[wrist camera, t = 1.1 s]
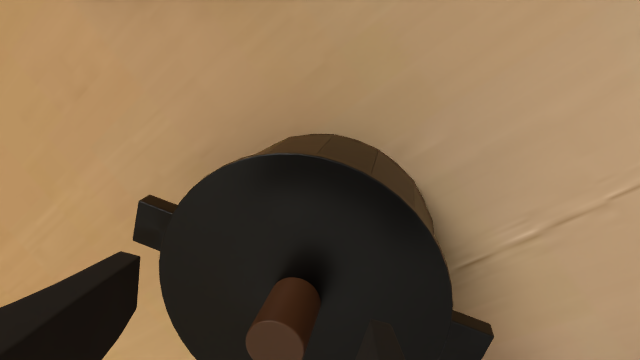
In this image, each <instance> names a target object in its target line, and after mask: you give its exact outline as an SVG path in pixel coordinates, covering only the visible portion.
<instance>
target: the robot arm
mask: <svg viewBox="0 0 640 360" xmlns="http://www.w3.org/2000/svg"><path fill="white" fill-rule="evenodd" d="M139 267H140V256H137V255H133V254H129V253H125V252H122V251H121V252H118V253H116V254H114V255H112V256H110V257H108V258H106V259H104V260H102V261H100V262H98V263H96V264H94V265H92V266H90V267H88V268H86V269H84V270H83V271H81V272H78V273H76V274H74V275H72V276H70V277H68V278H66V279H64V280H62V281H60V282H58V283H56V284H54V285H52V286H49V287H47V288H45V289H43V290H40V291H38V292H36V293H34V294H31V295H29V296H27V297H25V298H22V299H20V300H18V301H16V302H13V303H11V304H8V305H6V306H3V307H1V308H0V360H102V359H103V357H104V356H105V355H106V354H107V352H108V351H109V350H110V348H111V347H112V346H113V345H114V343H115V342H116V341H117V339H118V338H119V336H120V335H121V333H122V332H123V330H124V328H125V327H126V325H127V324H128V322H129V320H130V318H131V317H132V315H133V313H134V312H135V310H136V308H137V295H138V281H139ZM355 360H405V358H404V355H403V353H402V350H401V348H400V346H399V343H398V341H397V338H396V335H395V333H394V330H393V328H392V326H391V324H389V323H385V322H381V321H377V320H374V319H370V322H369V324H368V327H367V330H366V332H365V335H364V338H363V340H362V343H361V346H360V348H359V351H358V354H357V356H356V359H355Z"/></svg>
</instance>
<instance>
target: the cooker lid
mask: <svg viewBox="0 0 640 360" xmlns="http://www.w3.org/2000/svg"><path fill="white" fill-rule="evenodd" d="M159 275H160V284H161V290H162V296H163V299H164V303H165V306H166V309H167V312H168V314H169V317H170V319H171V322H172V324H173V326H174V328H175V330H176V331H177V333H178V335H179V337H180V338H181V340H182V342H183V343H184V344H185V346H186V347H187V348H188V350H189V351H190V353H191V354H192V355H193V356H194V357H195V359H196V360H355V359H356V356H357V354H358V351H359V348H360V346H361V343H362V340H363V338H364V335H365V332H366V330H367V327H368V324H369V322H370V319H374V320H377V321H381V322H385V323H389V324H391V326H392V328H393V330H394V333H395V335H396V338H397V341H398V343H399V346H400V348H401V350H402V353H403V355H404V358H405V360H438V359H439V357H440V356H441V354H442V351H443V349H444V346H445V344H446V342H447V339H448V335H449V331H450V326H451V322H452V309H453V300H452V287H451V281H450V277H449V272H448V268H447V264H446V261H445V258H444V256H443V253H442V251H441V248H440V246H439V243H438V241H437V240H436V238H435V236H434V234H433V233H432V231H431V229H430V227H429V226H428V224H427V223H426V222H425V220H424V219H423V218H422V217H421V215H420V214H419V213H418V211H417V210H416V209H415V208H414V207H413V206H412V205H411V204H410V203H409V202H408V201H407V200H406V199H405V198H404V197H403V196H402V195H401V194H400V193H399V192H398V191H396V190H395V189H394V188H392V187H391V186H390V185H388V184H387V183H386V182H385V181H383V180H382V179H380V178H378V177H377V176H375V175H373V174H371V173H370V172H368V171H366V170H365V169H363V168H360V167H358V166H355V165H353V164H351V163H348V162H346V161H344V160H340V159H337V158H333V157H330V156H326V155H323V154H317V153H310V152H303V151H274V152H266V153H259V154H255V155H251V156H247V157H244V158H241V159H238V160H236V161H233V162H231V163H229V164H226V165H224V166H222V167H221V168H219V169H217V170H216V171H214V172H213V173H211V174H209V175H208V176H206V177H205V178H203V179H202V180H201V181H200V182H199V183H198V184H196V185H195V186H194V187H193V188H192V189H191V190H190V191H189V192H188V193H187V194H186V196H185V197H184V198H183V199H182V200H181V201H180V203H179V205H178V206H177V208H176V209H175V211H174V212H173V214H172V216H171V218H170V220H169V223H168V225H167V227H166V230H165V233H164V237H163V241H162V244H161V251H160V260H159Z"/></svg>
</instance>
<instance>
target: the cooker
mask: <svg viewBox="0 0 640 360" xmlns="http://www.w3.org/2000/svg"><path fill="white" fill-rule="evenodd" d="M274 151H303V152H310V153H317V154H323V155H326V156H330V157H333V158H337V159H340V160H344V161H346V162H348V163H351V164H353V165H355V166H358V167H360V168H363V169H365V170H366V171H368V172H370V173H371V174H373V175H375V176H377V177H378V178H380V179H382V180H383V181H385V182H386V183H387V184H388V185H390V186H391V187H392V188H394V189H395V190H396V191H398V192H399V193H400V194H401V195H402V196H403V197H404V198H405V199H406V200H407V201H408V202H409V203H410V204H411V205H412V206H413V207H414V208H415V209H416V210H417V211H418V213H419V214H420V215H421V217H422V218H423V219H424V220H425V222H426V223H427V224H428V226H429V227H430V229H431V231H432V233H433V234H434V229H433V222H432V218H431V216H430V214H429V212H428V210H427V207H426V205H425V202H424V200H423V197H422V196H421V194H420V192H419V190H418V189H417V187H416V185H415V183H414V181H413V179H412V178H410V177H409V176H408V175H407V173H406V172H405V171H404V170H403V169H402V168H401V167H400V166H399V165H398V164H397V163H396V162H394V161H393V160H392V159H390V158H389V157H388V156H387V155H385V154H384V153H382V152H381V151H380V150H378V149H376V148H374V147H372V146H370V145H367V144H365V143H363V142H360V141H358V140H355V139H351V138H347V137H344V136H338V135H334V134H310V135H302V136H294V137H289V138H287V139H285V140H283V141H281V142H279V143H276V144H274V145H272V146H271V147H269V148H267V149H265V150H263V151H261V152H259V153H266V152H274ZM259 153H257V154H259ZM177 206H178V205H176V204H173V203H171V202H168V201H165V200H163V199H160V198H157V197H155V196H152V195H148V196H147V197H145V198H143V199H141V200H139V203H138V209H137V215H136V222H135V228H134V234H133V241H135V242H138V243H140V244H143V245H146V246H148V247H151V248H153V249H156V250H158V251H161V244H162V241H163V237H164V233H165V230H166V227H167V225H168V223H169V220H170V218H171V216H172V214H173V212H174V211H175V209H176V208H177ZM493 338H494V335H493V332H492V328H491V325H490V324H489V323H486V322H483V321H481V320H478V319H475V318H473V317H470V316H467V315H465V314H462V313H460V312H457V311H454V310H452V322H451V326H450V331H449V335H448V339H447V342H446V344H445V346H444V349H443V351H442V354H441V356H440V357H439V359H438V360H481V359H482V357H483V356H484V354H485V352H486V350H487V349H488V347H489V345H490V343H491V342H492V340H493Z"/></svg>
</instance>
